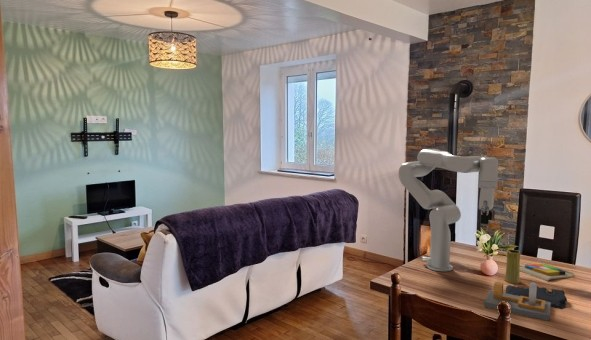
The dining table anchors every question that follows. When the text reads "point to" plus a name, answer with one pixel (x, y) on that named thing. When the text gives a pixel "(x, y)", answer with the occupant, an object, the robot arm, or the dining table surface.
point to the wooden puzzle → (545, 271)
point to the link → (499, 295)
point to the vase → (513, 266)
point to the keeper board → (515, 308)
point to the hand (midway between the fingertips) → (486, 221)
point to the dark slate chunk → (541, 295)
